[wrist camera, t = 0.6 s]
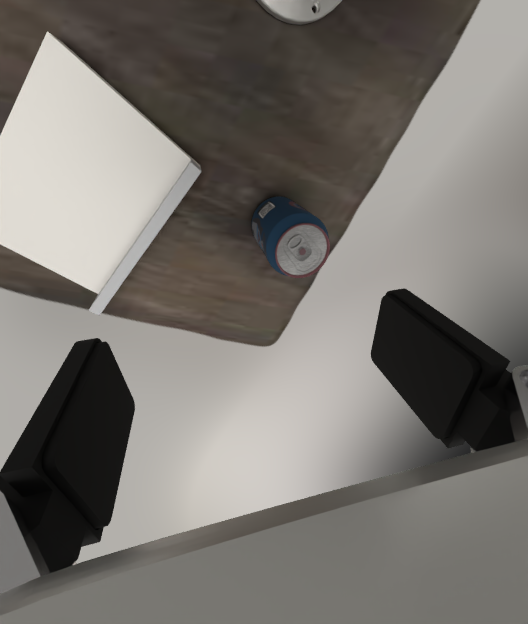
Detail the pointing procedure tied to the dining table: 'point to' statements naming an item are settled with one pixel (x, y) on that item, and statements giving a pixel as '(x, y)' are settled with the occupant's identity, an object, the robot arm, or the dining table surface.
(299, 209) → the soda can
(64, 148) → the shelf
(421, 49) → the dining table surface
